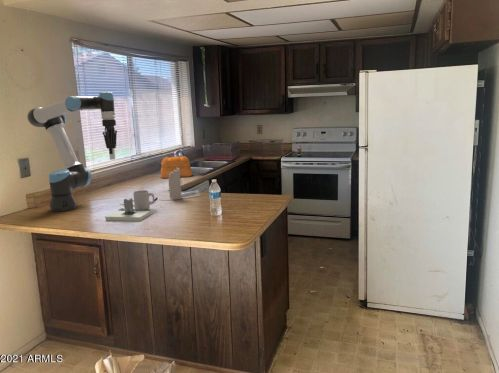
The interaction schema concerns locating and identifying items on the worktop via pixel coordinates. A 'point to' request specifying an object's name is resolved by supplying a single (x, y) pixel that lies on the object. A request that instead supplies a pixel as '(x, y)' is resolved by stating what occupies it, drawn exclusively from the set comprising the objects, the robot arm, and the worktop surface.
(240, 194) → the worktop surface
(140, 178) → the worktop surface
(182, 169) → the bread
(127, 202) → the grey metal cylinder
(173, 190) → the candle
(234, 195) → the worktop surface
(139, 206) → the mug
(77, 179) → the robot arm
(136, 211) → the plate
